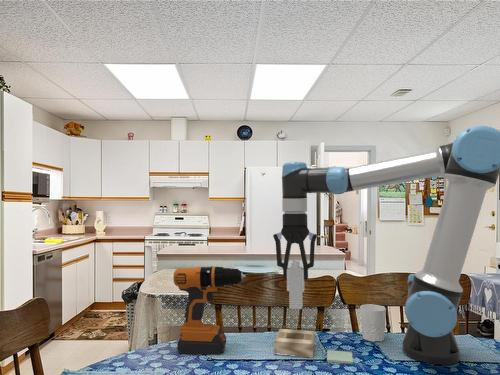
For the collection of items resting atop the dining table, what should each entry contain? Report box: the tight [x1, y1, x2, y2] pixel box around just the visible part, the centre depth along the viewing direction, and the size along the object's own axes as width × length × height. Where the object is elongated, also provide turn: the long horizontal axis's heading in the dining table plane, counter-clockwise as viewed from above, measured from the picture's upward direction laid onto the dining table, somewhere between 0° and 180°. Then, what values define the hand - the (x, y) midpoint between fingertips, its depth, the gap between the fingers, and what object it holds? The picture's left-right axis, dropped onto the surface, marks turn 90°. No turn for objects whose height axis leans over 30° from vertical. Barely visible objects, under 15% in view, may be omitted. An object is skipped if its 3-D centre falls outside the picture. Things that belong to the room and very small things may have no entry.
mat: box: [326, 349, 354, 365], centre depth 108 cm, size 7×7×1 cm
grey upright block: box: [288, 260, 304, 310], centre depth 115 cm, size 4×6×14 cm, turn 168°
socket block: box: [273, 328, 316, 359], centre depth 115 cm, size 11×11×4 cm
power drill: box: [173, 265, 247, 355], centre depth 114 cm, size 22×7×25 cm, turn 87°
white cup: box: [359, 303, 387, 343], centre depth 124 cm, size 8×8×10 cm
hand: (295, 290), depth 115 cm, fingers closed on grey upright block, 4 cm apart
